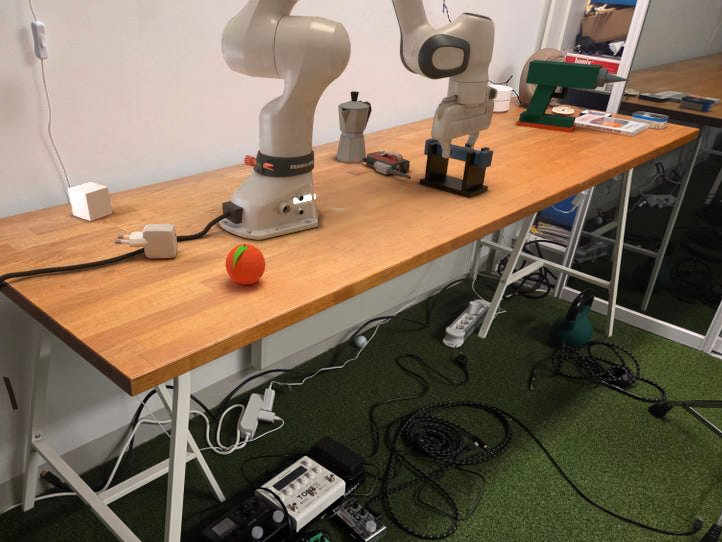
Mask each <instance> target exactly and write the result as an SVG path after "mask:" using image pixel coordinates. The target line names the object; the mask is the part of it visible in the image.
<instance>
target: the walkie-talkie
mask: <svg viewBox="0 0 722 542" xmlns="http://www.w3.org/2000/svg"><path fill="white" fill-rule="evenodd" d="M362 161H363V162H362V163H365V164H366V167H370V168H372V169H375V172H378V173H381V174H383V175H386V176H387V175H393V176H397V177H400V178H406V179H409V180H411V178H412V176H411V175H409V174H407V173H406V172H409V171H410V167H411V161H410V160H408V159H406V158H404V157H403V155H402V154H401V153H398V152H394V151H388V152H387V151H386V150H379V151H378V150H377V151H374V152H369V153H366V158H363V159H362Z"/></svg>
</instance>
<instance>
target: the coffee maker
mask: <svg viewBox="0 0 722 542" xmlns="http://www.w3.org/2000/svg"><path fill="white" fill-rule="evenodd" d="M359 94H360V92H359V91H355V90H353V91H350V100H349V101H346V102H342V103H340V104H338V106H337V111H338V121H339V130H340V131H341V133H340V136H339V142H338V147H337V152H336V160H337V161H338V162H341V163H345V164H361V163H364V162H363V161H362V159H363V158H367V153H366V143H365V142H366V141H365V135H364V131H365V130H366V128H367V125H368V122H369V120H370V116H371V113H372V111H373V109H372V105H371V102H369V101H362V100H358V98H359Z"/></svg>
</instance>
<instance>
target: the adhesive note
mask: <svg viewBox="0 0 722 542" xmlns="http://www.w3.org/2000/svg"><path fill="white" fill-rule="evenodd" d="M67 191H68V197H69V202H70V206H71V210H72V215H73V216H74V217H78V218H80V219H83V220H86V221H90V222H92V221H95V220H97V219H101V218H103V217H106V216H109V215H112V214H113V208H112V207H113V206H112V202H111V196H110V190H109V187H108V186H107V185H104V184H99V183H96V182H92V181H88V182H85V183H81V184H79V185H75V186H72V187H69V188H67Z"/></svg>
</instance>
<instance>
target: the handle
mask: <svg viewBox="0 0 722 542" xmlns="http://www.w3.org/2000/svg"><path fill="white" fill-rule="evenodd" d="M424 141H425V143H424V151H423V155H425V156H427V154H428V146H429V144H430V143H437V150H436V155H439V156H442V151H443V150H442V147H441V143H440V142H441V141H437V140H434V139H432V137H431V138H427V139H425V140H424ZM450 150H452V156H451V157H449V159H453V160H456V161H461V162H464V163H465V161H466V154H467V152H471V151H473V152H476V153H475V160H474V164H476V165H477V168H481V169H484V168H486V169H487V168H489V167H492V162H493V156H494V150H492V149H489V150H485V151H481V150H480V149H479V150H478V149H475V148H474V149H470V148H466V147H465V146H461V145H457V144H453V143H451V144H450Z"/></svg>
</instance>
